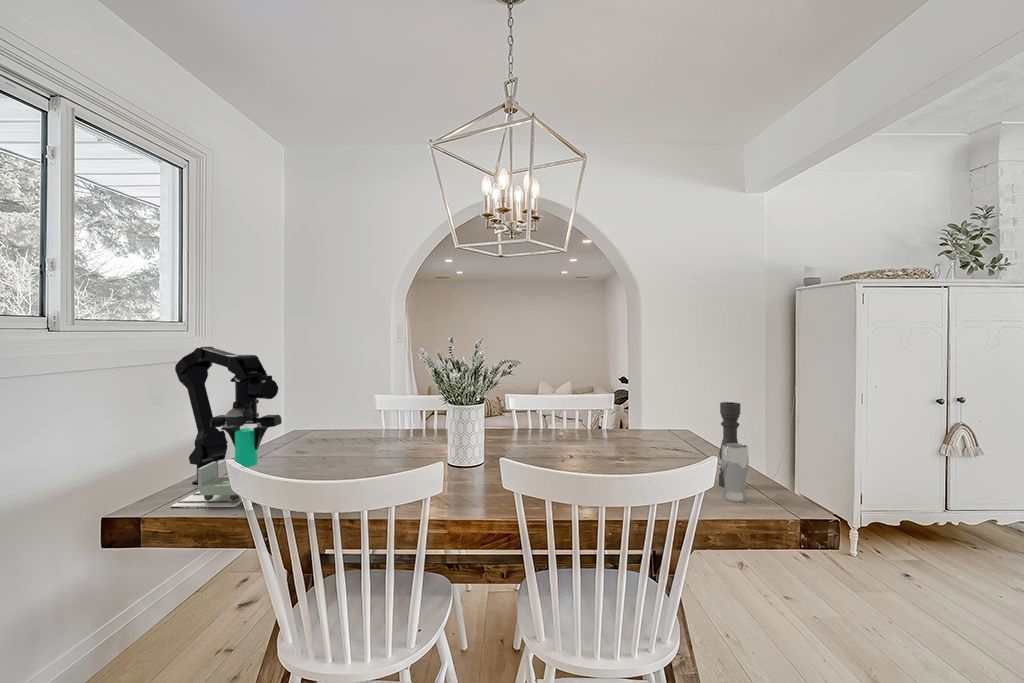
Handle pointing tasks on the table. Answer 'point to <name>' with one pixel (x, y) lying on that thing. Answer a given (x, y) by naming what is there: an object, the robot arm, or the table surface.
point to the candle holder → (728, 428)
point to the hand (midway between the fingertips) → (246, 449)
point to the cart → (213, 483)
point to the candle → (245, 447)
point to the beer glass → (734, 471)
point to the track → (199, 501)
